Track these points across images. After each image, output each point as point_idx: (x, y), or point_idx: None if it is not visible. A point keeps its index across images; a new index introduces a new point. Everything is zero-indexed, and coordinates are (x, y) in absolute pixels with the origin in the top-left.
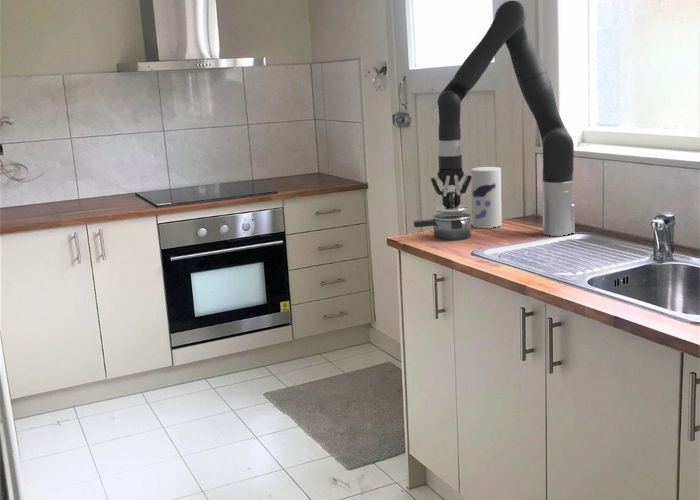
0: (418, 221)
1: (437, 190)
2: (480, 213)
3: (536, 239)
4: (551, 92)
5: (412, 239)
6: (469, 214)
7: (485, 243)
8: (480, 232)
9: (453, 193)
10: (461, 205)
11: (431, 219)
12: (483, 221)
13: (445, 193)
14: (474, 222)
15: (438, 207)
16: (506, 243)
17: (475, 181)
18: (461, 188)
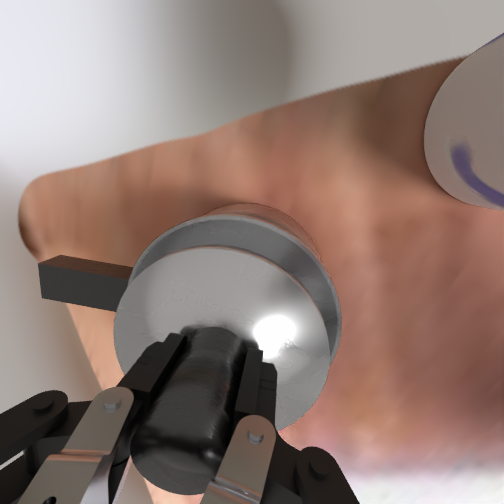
0: (59, 299)
1: (6, 490)
2: (489, 186)
3: (500, 459)
4: None
5: (93, 247)
6: (332, 344)
7: (311, 421)
8: (387, 260)
9: (190, 488)
10: (305, 328)
11: (127, 286)
12: (469, 196)
13: (113, 467)
14: (436, 140)
15: (136, 312)
16: (373, 452)
17: None
18: (303, 497)
